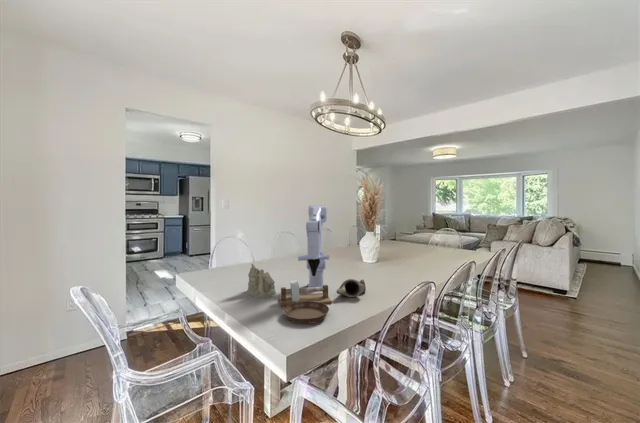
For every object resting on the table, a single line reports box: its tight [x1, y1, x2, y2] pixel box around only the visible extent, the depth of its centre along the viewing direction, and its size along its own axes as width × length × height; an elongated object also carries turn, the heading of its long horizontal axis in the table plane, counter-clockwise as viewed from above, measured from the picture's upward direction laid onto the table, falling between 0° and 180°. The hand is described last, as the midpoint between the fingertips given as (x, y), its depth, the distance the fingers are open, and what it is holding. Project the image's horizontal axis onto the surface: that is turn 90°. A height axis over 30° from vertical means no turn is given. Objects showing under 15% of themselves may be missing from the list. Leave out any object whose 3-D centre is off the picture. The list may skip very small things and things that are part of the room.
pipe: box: [335, 278, 367, 299], centre depth 135 cm, size 16×9×15 cm
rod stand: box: [278, 284, 333, 308], centre depth 127 cm, size 12×22×6 cm, turn 102°
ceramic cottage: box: [246, 263, 277, 299], centre depth 141 cm, size 16×16×15 cm
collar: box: [290, 280, 300, 302], centre depth 126 cm, size 7×3×7 cm, turn 12°
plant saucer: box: [282, 301, 330, 325], centre depth 110 cm, size 18×18×3 cm
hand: (313, 275), depth 133 cm, fingers closed
